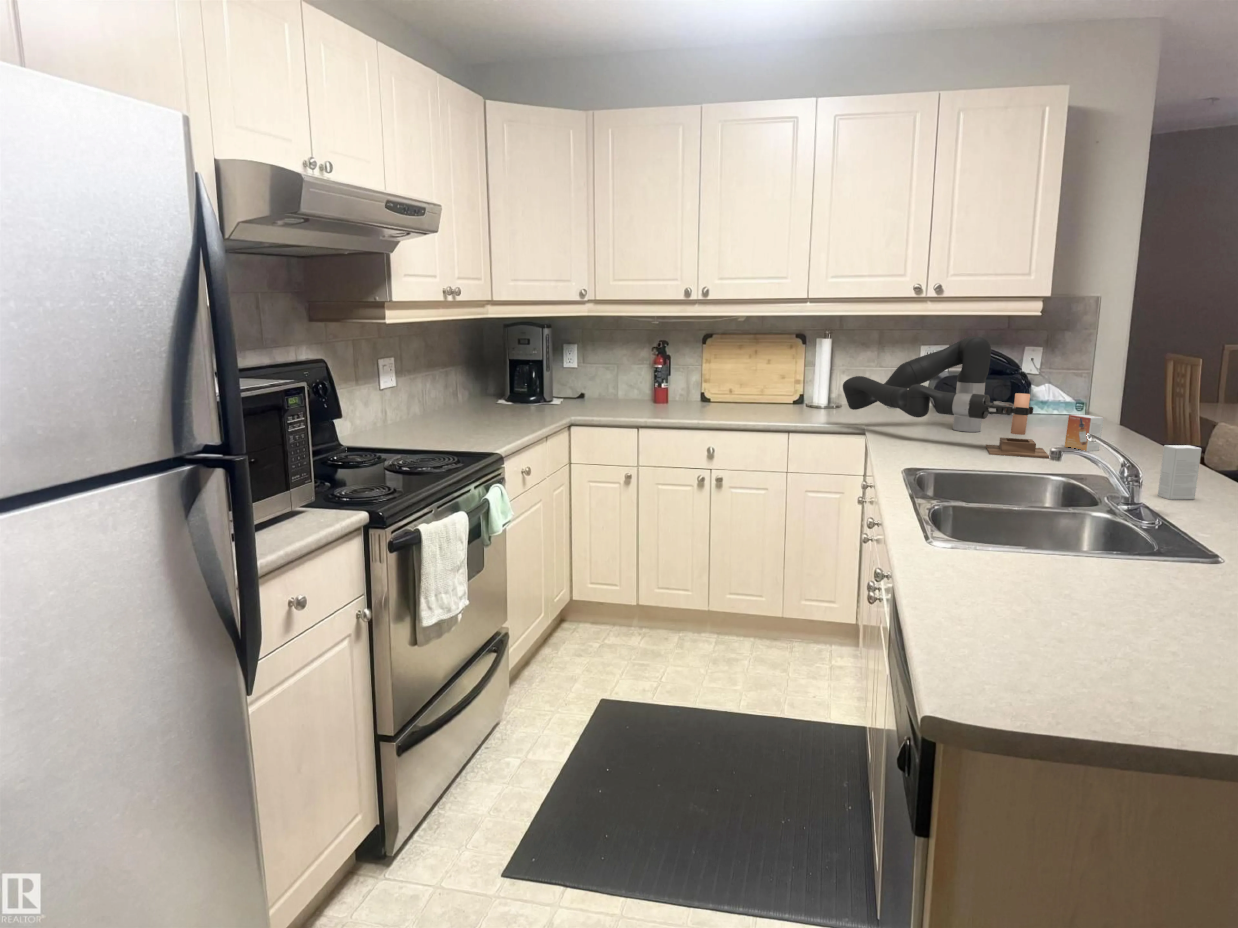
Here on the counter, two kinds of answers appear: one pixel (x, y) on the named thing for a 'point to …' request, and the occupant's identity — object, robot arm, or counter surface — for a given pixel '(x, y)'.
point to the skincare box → (1179, 472)
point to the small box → (1083, 431)
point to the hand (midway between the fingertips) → (1030, 411)
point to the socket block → (1017, 448)
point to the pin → (1020, 420)
